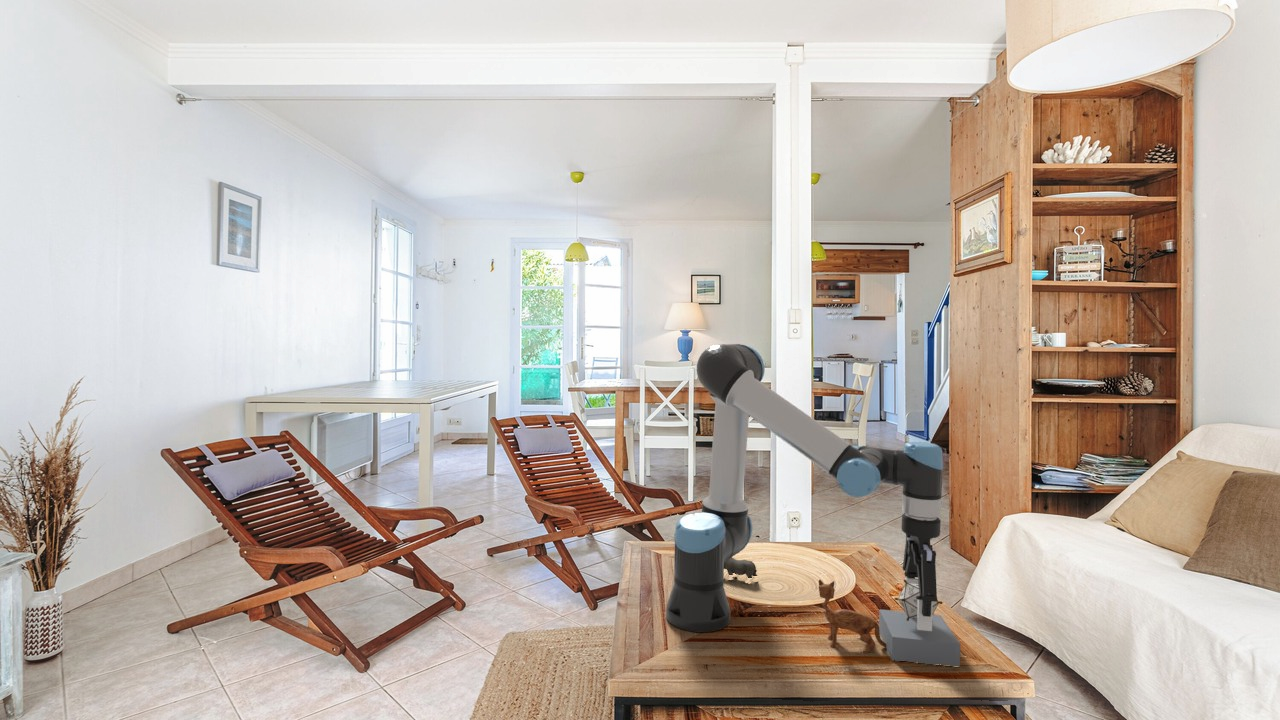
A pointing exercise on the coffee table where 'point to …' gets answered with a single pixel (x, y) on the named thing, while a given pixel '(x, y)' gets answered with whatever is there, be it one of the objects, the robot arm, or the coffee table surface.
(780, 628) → the coffee table surface
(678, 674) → the coffee table surface
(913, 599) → the game die
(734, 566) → the dark grey animal figure
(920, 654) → the stand
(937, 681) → the coffee table surface
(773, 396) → the robot arm
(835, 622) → the cat figurine
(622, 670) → the coffee table surface
